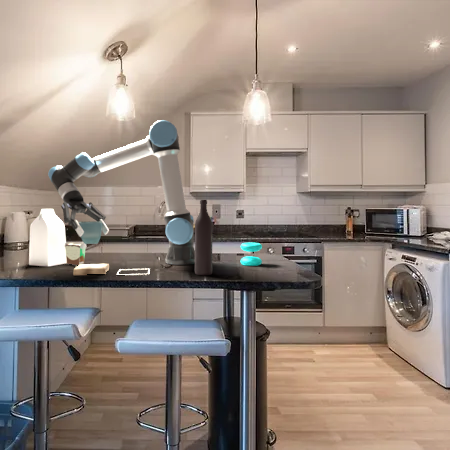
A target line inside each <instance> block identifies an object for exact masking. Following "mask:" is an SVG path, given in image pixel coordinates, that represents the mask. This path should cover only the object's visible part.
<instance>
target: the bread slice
mask: <svg viewBox="0 0 450 450" xmlns="http://www.w3.org/2000/svg"><path fill="white" fill-rule="evenodd" d="M109 270H110V264H109V263H90V264H89V263H87V264H85V263H84V264H80V265H78V266H77V265H76V266H75V268H73V276H88V275H87V274H105V275H106V274H107V273H108V272H107V271H109ZM106 272H107V273H106Z"/></svg>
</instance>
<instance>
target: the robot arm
mask: <svg viewBox="0 0 450 450" xmlns="http://www.w3.org/2000/svg"><path fill="white" fill-rule="evenodd" d="M179 143H180V142H179V134H178V130H177V127H176V126H175V125H174V124H173V123H172V121H169V120H166V119H165V120H164V119H162V120H157V121H155V122H154V123H153V124H152V125H151V126H150V128H149V133H148V135H147V136H146V138H145V139H142V140H139V141H136V142H134V143H130V144H127V145H126V146H123V147H119V148H117V149H114V150H111V151H109V152H106V153H103V154H101V155H97V156H95V157H93V158H91V156H90V155H89V154H88V153H86V152H83V151H82V152H81V153H80V154H77V155H76V156H75V157H73V159H71V160H70V161H69V162H67V163H66V164H65V165H63V166H62V165H56V166H53V167H51V168H50V169H49V171H48V174H47V175H48V177H49V179H50V182H51V184H52V185H53V186H54V188H55V189H56V191H57V192H58V193H57V194H59V196H60V198H61V199H62V201H63V203H62V204H61V206H60V207H61V209H62V212H63V213H62V214H63V223H64V224H67V225H68V226H71V227H72V229H73V230H75V231H76V233H77V235H78V237H80V238H81V236H82V235H83V233H84V231H83V229H82V227H81V226H80V225H79V221H78V220H77V219H76V216H77V215H76V214H80V213H81V214H84V215H87V217H90V218H92V219H93V221H95V222H96V221H101V222H102V233H103V234H104V235H105V236H106V235H107V234H108V233H109V231H110V229H109V228H108V226H107V223H106V221H105V220H106V219H107V216H106V215H105V214H104V213H102V212H101V211H100V210H99V208H97V207H95V205H94V204H93V203H92V202H89V203H87V202H85V201H84V197H83V195H82V193H81V192H80V191H79V188H78V187H77V186H76V184H75V181H76V180H78V179H79V178H80V177H83V176H84V177H86V178H94V177H96V176H97V175H98V174H101V173H103V172H106V171H109V170H112V169H115V168H117V167H120V166H124V165H126V164H128V163H133V162H134V161H138V160H140V159H143V158H145V157H148V156H151V155H152V156H154V157H156V158H157V159H158V167H159V171H160V179H161V186H162V190H163V196H164V197H163V198H164V202H165V207H166V208H165V209H166V213H164V215H163V218H164V224H165V235H166V238H167V239H168V242H169V246H168V250H167V253H166V257H165V264H168V265H178V266H179V265H182V266H183V265H195V245H194V224H195V220H194V216H193V215H192V214H191V211H190V210H189V209H187V208H186V199H185V194H184V188H183V182H182V176H181V170H180V169H181V168H180V164H179V159H178V157H179V156H178V155H179V153H180V152H181V148H180V144H179ZM69 209H70V210H71V211H70V210H69Z"/></svg>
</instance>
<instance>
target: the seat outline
mask: <svg viewBox="0 0 450 450" xmlns="http://www.w3.org/2000/svg"><path fill="white" fill-rule="evenodd" d="M121 271H147V273H124V274H120V273H121ZM150 271H151V268H127V269H126V268H125V269H124V268H122V269H121V268H120V269H118V271H117V273H116V274H115V275H125V276H149V275H150ZM119 272H120V273H119Z"/></svg>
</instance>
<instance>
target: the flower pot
mask: <svg viewBox="0 0 450 450" xmlns="http://www.w3.org/2000/svg"><path fill="white" fill-rule="evenodd" d="M78 223H79V225H80V226H81V227H82V229H83V231H84V233H83V235H82V236H81V237H80V238H81V240H82V242H83V243H84V244H86V245H89V244H91V245H93V244H95V245H97V244H98V243H99V242H100V239H101V236H102V233H103V231H102V222H101V221H96V220H95V221H78Z"/></svg>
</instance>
